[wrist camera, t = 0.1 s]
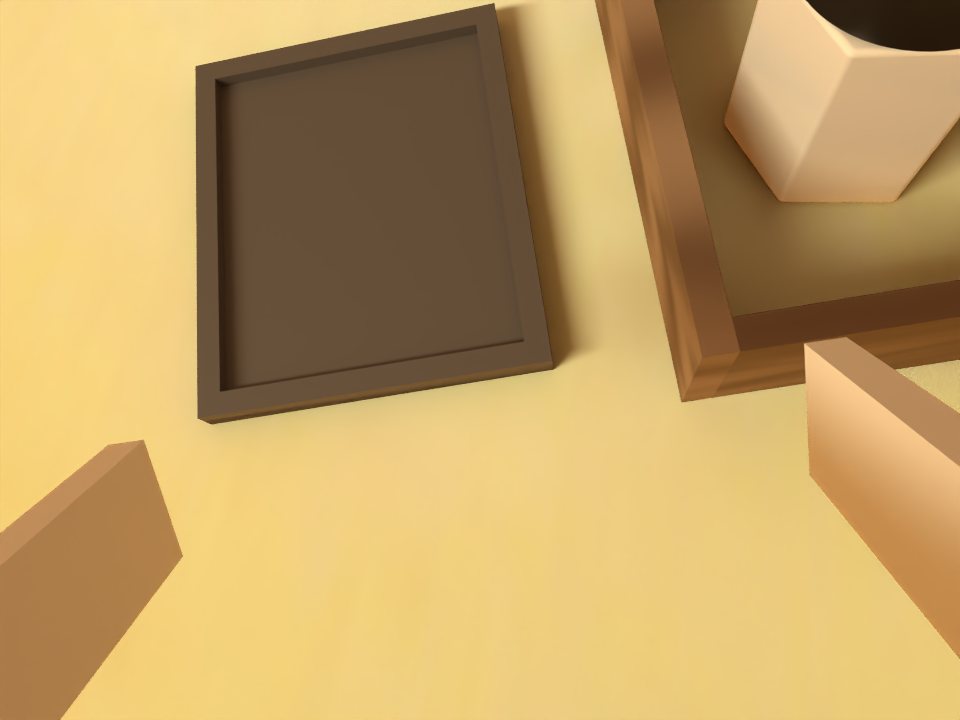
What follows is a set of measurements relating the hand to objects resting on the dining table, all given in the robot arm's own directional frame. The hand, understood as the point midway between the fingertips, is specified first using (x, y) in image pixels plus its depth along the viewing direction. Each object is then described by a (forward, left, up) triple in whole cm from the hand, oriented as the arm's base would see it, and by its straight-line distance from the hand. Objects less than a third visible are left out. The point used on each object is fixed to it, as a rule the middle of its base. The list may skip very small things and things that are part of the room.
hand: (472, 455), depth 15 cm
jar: (+15, -15, -16) cm, 27 cm away
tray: (+15, +6, -15) cm, 22 cm away
